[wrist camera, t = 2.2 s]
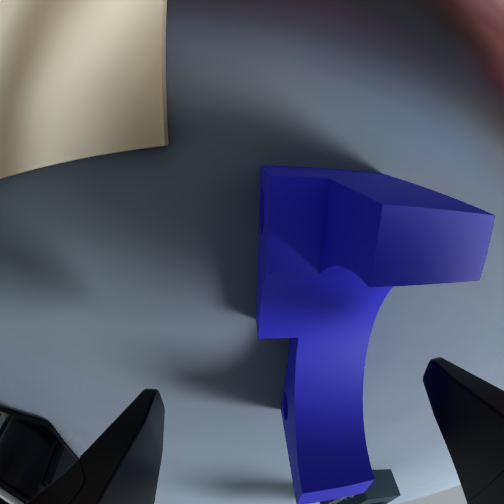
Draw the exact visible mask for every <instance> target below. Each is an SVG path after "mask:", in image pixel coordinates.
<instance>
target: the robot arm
mask: <svg viewBox="0 0 504 504" xmlns="http://www.w3.org/2000/svg"><path fill="white" fill-rule="evenodd" d="M423 382H424V386H425V389H426V392H427V395H428V398H429V401H430V404H431V407H432V410H433V413H434V416H435V419H436V421H437V423H438V426H439V428H440V431H441V433H442V435H443V438H444V440H445V443H446V445H447V448H448V450H449V453H450V455H451V458H452V461H453V463H454V466H455V469H456V471H457V474H458V477H459V480H460V483H461V485H462V488H463V491H464V494H465V497H466V500H467V504H504V391H503V390H501V389H499V388H497V387H495V386H494V385H492V384H490V383H488V382H486V381H484V380H482V379H480V378H479V377H477V376H475V375H473V374H471V373H469V372H467V371H465V370H464V369H462V368H460V367H458V366H456V365H454V364H452V363H451V362H449V361H447V360H445V359H443V358H441V357H439V358H435V359H432V360H430V361H429V363H428V366H427V368H426V371H425V373H424V376H423ZM164 414H165V409H164V404H163V402H162V399H161V396H160V393H159V391H158V390H157V389H145V390H143V391H142V392H141V393H140V394H139V395H138V397H137V398H136V399H135V400H134V401H133V402H132V403H131V404H130V405H129V406H128V407H127V408H126V409H125V410H124V411H123V412H122V414H121V415H120V416H119V417H118V418H117V419H116V420H115V421H114V422H113V423H112V424H111V425H110V426H109V427H108V428H107V429H106V430H105V431H104V432H103V433H102V435H101V436H100V437H99V438H98V439H97V440H96V441H95V442H94V443H93V444H92V445H91V446H90V447H89V448H88V449H87V450H86V451H85V452H84V453H83V454H82V455H81V456H80V459H78V457H77V456H76V455H75V454H74V453H73V451H72V450H71V449H70V448H69V447H68V445H67V444H66V443H65V442H64V440H63V439H62V438H61V437H60V435H59V434H58V433H57V431H56V430H55V429H54V427H53V426H52V425H51V424H49V423H48V422H45V421H42V420H38V419H35V418H31V417H28V416H25V415H22V414H18V413H15V412H12V411H9V410H7V409H4V408H1V407H0V419H1V420H2V422H3V425H2V427H1V428H0V494H1V495H2V496H4V497H5V498H7V499H8V500H9V501H11V502H13V503H14V504H154V501H155V495H156V488H157V482H158V476H159V470H160V464H161V458H162V450H163V431H164ZM0 504H9V503H7V502H6V501H4V500H3V499H1V498H0Z"/></svg>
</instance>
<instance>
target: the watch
mask: <svg viewBox="0 0 504 504" xmlns="http://www.w3.org/2000/svg"><path fill="white" fill-rule="evenodd" d="M372 472H373V475H374V478H375V480H374V481H373V482H372V484H371V485H370V486H369V487H368V488H367V490H366V491H365V492H364V493H361V494H356V495H352V496H348V497H343V498H338V499H333V500H327V501H321V502H320V504H387V503H389V502H390V501H392V500H394V499H395V498H397V497H398V496H400V492H399V490H398V487H397V484H396V482H395V479H394V477H393V474H392V471H391V469H390V470H372Z"/></svg>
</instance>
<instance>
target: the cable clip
mask: <svg viewBox="0 0 504 504" xmlns="http://www.w3.org/2000/svg"><path fill="white" fill-rule="evenodd" d="M494 219H495V215H493V214H490V213H488V212H486V211H484V210H481V209H479V208H477V207H474V206H472V205H469V204H467V203H464V202H462V201H459V200H457V199H454V198H452V197H449V196H446V195H444V194H441V193H438V192H436V191H433V190H430V189H427V188H424V187H422V186H419V185H416V184H413V183H410V182H407V181H404V180H401V179H398V178H395V177H391V176H388V175H385V174H381V173H371V172H361V171H350V170H338V169H324V168H308V167H288V166H261V180H260V214H259V246H258V276H257V305H256V323H257V331H258V339H272V338H290V345H289V354H288V362H287V369H286V377H285V384H284V392H283V399H282V406H281V413H282V419H283V425H284V431H285V437H286V443H287V449H288V455H289V461H290V467H291V473H292V479H293V485H294V491H295V497H296V503H297V504H308V503H315V502H321V501H327V500H333V499H338V498H343V497H348V496H352V495H356V494H361V493H364V492H365V491H366V490H367V488H368V487H369V486H370V485H371V484H372V482H373V481H374V480H375V478H374V475H373V472H372V469H371V465H370V461H369V456H368V452H367V446H366V440H365V432H364V422H363V376H364V366H365V358H366V352H367V346H368V342H369V337H370V334H371V330H372V327H373V324H374V321H375V318H376V315H377V313H378V310H379V308H380V306H381V304H382V302H383V300H384V299H385V297H386V295H387V294H388V292H389V291H390V289H391V288H392V287H393V286H407V285H423V284H438V283H452V282H465V281H477V280H480V277H481V273H482V270H483V266H484V263H485V259H486V255H487V251H488V247H489V243H490V238H491V234H492V229H493V224H494Z"/></svg>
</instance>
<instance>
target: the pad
mask: <svg viewBox="0 0 504 504" xmlns="http://www.w3.org/2000/svg"><path fill="white" fill-rule="evenodd" d="M166 11H167V0H0V179H1V178H5V177H8V176H11V175H15V174H19V173H22V172H26V171H30V170H34V169H38V168H42V167H46V166H50V165H54V164H59V163H63V162H68V161H72V160H77V159H82V158H87V157H93V156H98V155H104V154H109V153H116V152H122V151H128V150H135V149H142V148H150V147H158V146H166V145H169V139H168V121H167V96H166Z"/></svg>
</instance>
